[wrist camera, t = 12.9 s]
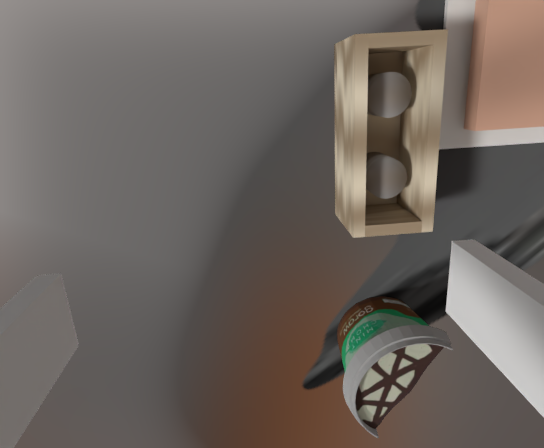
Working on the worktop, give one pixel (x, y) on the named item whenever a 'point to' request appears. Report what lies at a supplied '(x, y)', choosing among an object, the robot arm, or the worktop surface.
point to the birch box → (388, 130)
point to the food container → (384, 356)
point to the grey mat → (456, 84)
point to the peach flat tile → (506, 66)
